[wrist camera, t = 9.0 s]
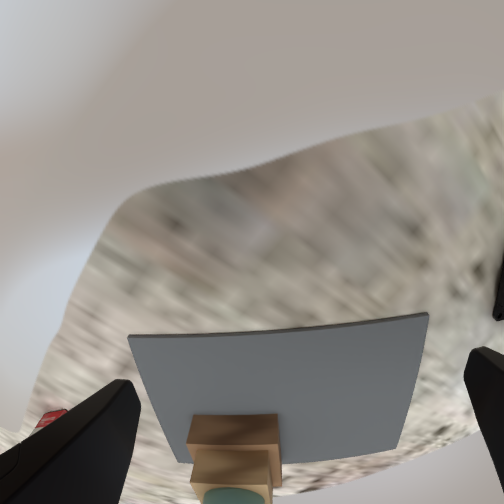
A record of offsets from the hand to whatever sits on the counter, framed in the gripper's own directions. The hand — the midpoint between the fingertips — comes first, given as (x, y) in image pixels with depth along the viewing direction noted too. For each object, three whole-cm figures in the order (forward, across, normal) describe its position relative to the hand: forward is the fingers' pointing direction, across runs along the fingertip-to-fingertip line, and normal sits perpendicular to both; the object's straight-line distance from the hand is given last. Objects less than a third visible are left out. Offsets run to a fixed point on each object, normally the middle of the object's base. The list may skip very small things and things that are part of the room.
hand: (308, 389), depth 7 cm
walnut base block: (+13, +5, +18) cm, 23 cm away
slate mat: (+13, +1, +14) cm, 19 cm away
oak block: (+9, +5, +18) cm, 21 cm away
